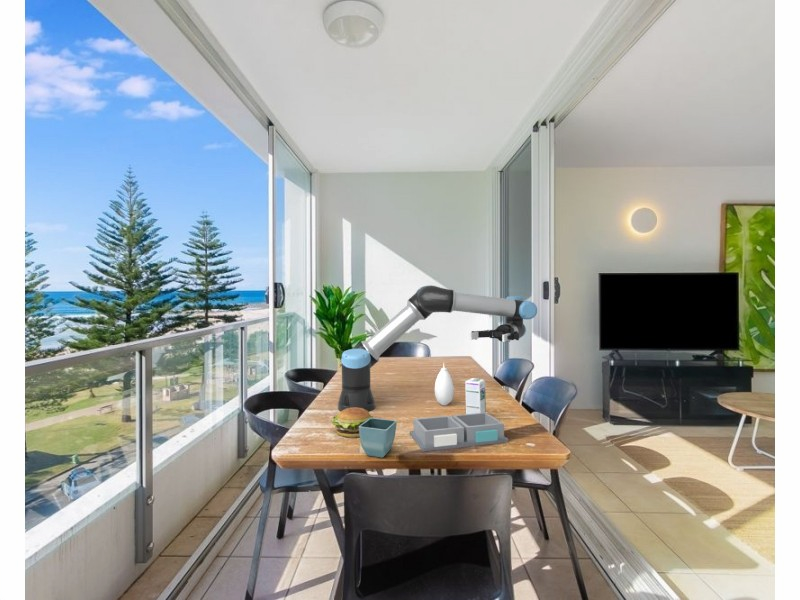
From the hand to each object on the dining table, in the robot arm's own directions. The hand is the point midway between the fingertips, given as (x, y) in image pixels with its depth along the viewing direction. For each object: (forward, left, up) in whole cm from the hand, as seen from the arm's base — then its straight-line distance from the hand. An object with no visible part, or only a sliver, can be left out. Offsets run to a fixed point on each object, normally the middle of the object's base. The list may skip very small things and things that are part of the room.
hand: (486, 337), depth 154 cm
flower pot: (-49, -28, -30) cm, 64 cm away
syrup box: (-8, -6, -29) cm, 31 cm away
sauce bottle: (-13, +14, -29) cm, 35 cm away
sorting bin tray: (-22, -23, -29) cm, 43 cm away
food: (-54, -8, -30) cm, 62 cm away
